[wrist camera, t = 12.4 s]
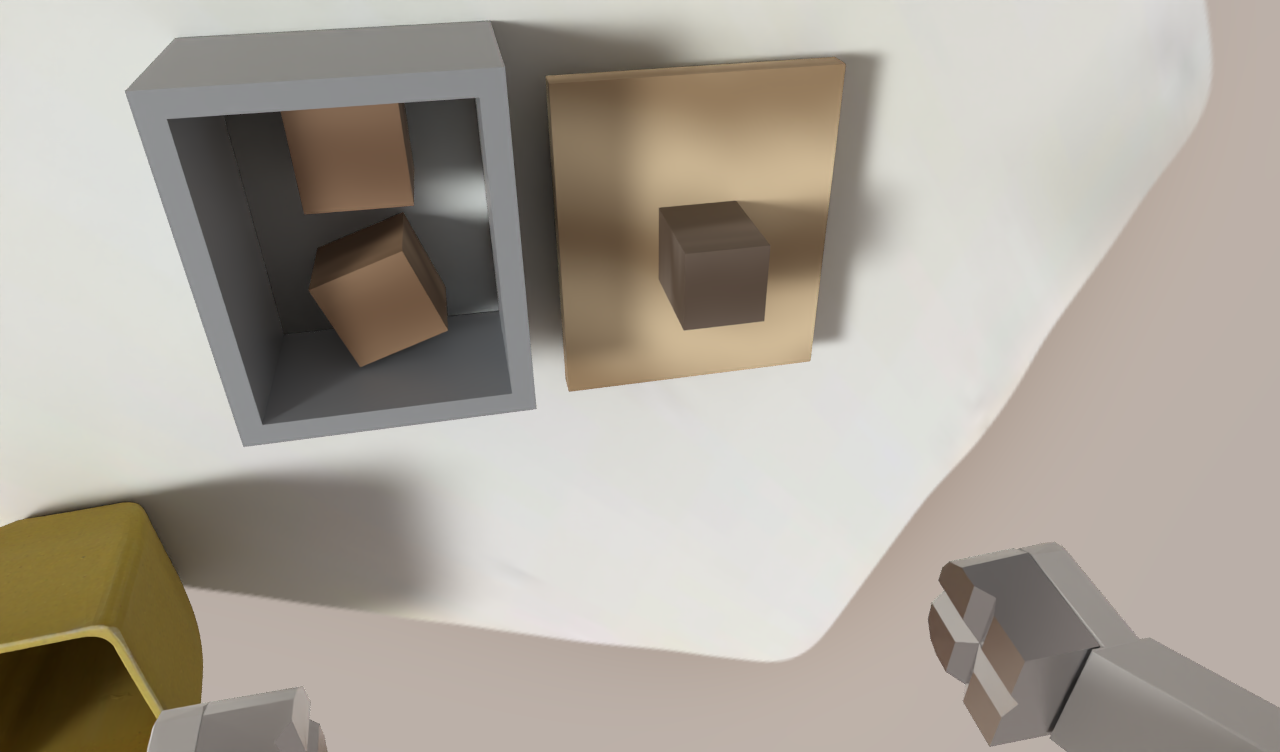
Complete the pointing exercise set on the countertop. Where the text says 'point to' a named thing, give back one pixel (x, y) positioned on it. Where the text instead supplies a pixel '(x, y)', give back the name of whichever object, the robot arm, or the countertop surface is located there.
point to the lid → (691, 215)
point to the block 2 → (379, 290)
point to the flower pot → (91, 632)
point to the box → (229, 249)
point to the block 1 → (351, 157)
